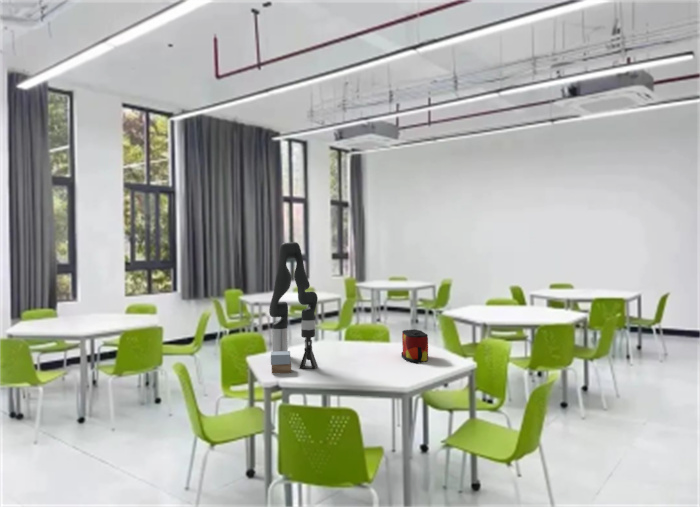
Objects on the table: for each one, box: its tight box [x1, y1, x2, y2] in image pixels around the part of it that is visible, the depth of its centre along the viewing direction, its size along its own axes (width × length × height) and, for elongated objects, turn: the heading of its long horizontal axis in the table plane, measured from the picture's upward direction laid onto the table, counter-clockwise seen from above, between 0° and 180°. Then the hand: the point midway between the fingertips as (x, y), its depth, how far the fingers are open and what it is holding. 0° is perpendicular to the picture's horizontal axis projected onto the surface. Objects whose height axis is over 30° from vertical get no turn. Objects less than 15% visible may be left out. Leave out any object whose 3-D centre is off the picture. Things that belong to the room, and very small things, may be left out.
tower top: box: [270, 350, 291, 366], centre depth 277 cm, size 10×10×5 cm
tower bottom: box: [271, 360, 292, 374], centre depth 277 cm, size 10×10×5 cm
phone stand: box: [299, 346, 319, 370], centre depth 285 cm, size 9×6×12 cm, turn 81°
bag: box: [401, 329, 429, 364], centre depth 308 cm, size 30×14×16 cm, turn 5°
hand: (308, 358), depth 285 cm, fingers closed on phone stand, 6 cm apart
